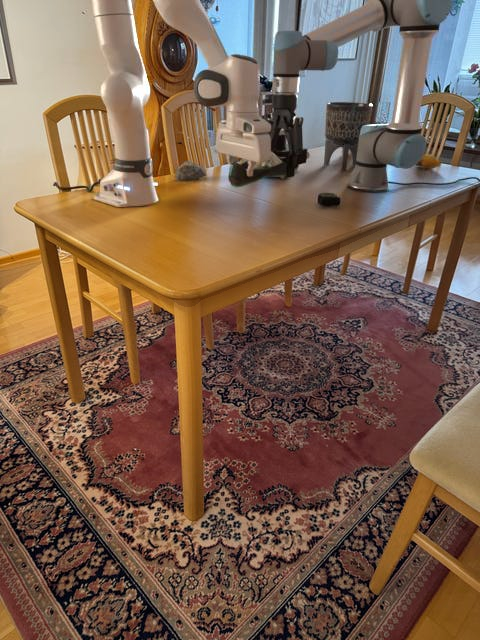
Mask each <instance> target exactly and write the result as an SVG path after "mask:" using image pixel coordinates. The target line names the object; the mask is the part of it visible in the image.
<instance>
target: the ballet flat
mask: <svg viewBox="0 0 480 640" xmlns="http://www.w3.org/2000/svg"><path fill="white" fill-rule="evenodd" d="M247 161H248V160H245V159H241V160H240V161H239V160H238V162H236V161H234V162H233V163H232V165H231V168H230V171H229V170H228V182H229V184H230V186H231V187H233V188H242V187H246V186H247V185H250V184H254V183H256V182H259V181H260V180H262V179H263V178H266V177H272V178H274V177H275V178H276V177H277V178H280V177H281V176H284V177H286V175H287V164H285V163H284V162H283V161H282V160H280V159H279V158H278V157H277V156H276V155H275V154H274V153H273V152H270V159H269V160H268V162H264V163H256V166H255V168H254V170H253V176H250V177H249V176H246V175H245V169H248V166H241V164H243V163H245V162H247ZM265 176H266V177H265Z"/></svg>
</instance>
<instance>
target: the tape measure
mask: <svg viewBox="0 0 480 640" xmlns="http://www.w3.org/2000/svg"><path fill="white" fill-rule="evenodd" d="M341 203H342V201H341V197H340V196H338V194H336V193H332V192H321V193H319V194H318V195H317V205H319V206H322V207H326V208H330V207H339V206H340V205H341Z"/></svg>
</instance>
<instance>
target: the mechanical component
mask: <svg viewBox="0 0 480 640" xmlns="http://www.w3.org/2000/svg"><path fill="white" fill-rule="evenodd" d="M275 148H276V149H274V150H276V156H277V157H278V158H279V159H280V160H282V161H283V162H284V163H285V164H287V159H288V154H290V152H289V147H288V143H287V138H286V133H285V132H284V129H282V130H280V133H279V136H278V139H277V142H276V145H275ZM293 151H294V150H293ZM310 156H311V154H310V152H309V151H308V148H304V147H303V153H300V154H298V155H297V163H296V166H295V171H294V174H295V173H298V171H299V167H300V165H303V164H304V165H305V164H307V160H309V158H310ZM241 159H242V158H238V162H239V161H240V160H241ZM241 166H249V164H248V161H247V162H245V163H243V164H241ZM264 178H267V176H265V177H264ZM279 178H280V179H285V176H281V177H279Z"/></svg>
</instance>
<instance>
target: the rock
mask: <svg viewBox="0 0 480 640" xmlns="http://www.w3.org/2000/svg"><path fill="white" fill-rule="evenodd" d="M204 177H208V176H207V170H206V169H205V168H204V166H202V165H200V164H198V163H195V162H192V161H190V160H185V161H184V162H183V163H182V164H181V165H180V166H178V167H177V168H176V171H175V173H174V180H175V181H180V182H191V181H194V182H195V181H200V179H203V178H204Z"/></svg>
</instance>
